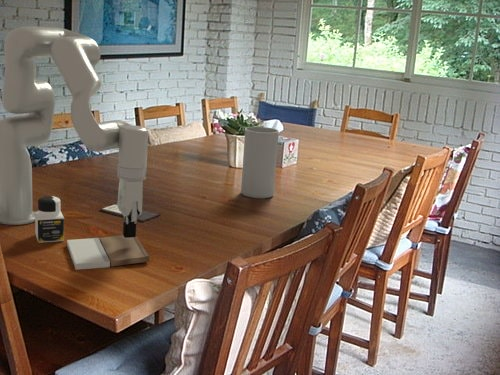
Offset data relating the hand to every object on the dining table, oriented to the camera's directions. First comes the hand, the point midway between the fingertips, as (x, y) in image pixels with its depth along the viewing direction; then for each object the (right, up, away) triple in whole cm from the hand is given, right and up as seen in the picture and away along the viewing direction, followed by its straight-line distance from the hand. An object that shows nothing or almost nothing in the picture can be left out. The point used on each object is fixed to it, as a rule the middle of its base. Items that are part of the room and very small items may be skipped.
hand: (129, 236), depth 176 cm
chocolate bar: (-6, +4, +35) cm, 36 cm away
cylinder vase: (+36, +11, +68) cm, 77 cm away
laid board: (-11, -5, -4) cm, 12 cm away
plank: (-2, -4, 0) cm, 5 cm away
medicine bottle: (-24, -1, +8) cm, 25 cm away
